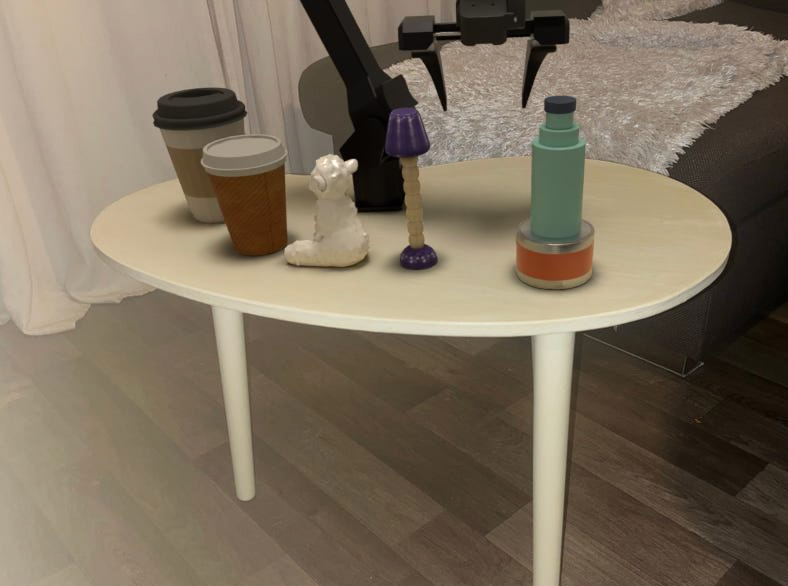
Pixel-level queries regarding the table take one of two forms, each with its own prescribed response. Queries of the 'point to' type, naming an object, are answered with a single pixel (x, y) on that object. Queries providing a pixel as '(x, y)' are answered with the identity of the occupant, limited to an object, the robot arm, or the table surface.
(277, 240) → the disposable coffee cup
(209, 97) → the coffee cup
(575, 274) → the can
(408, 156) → the toy lamp
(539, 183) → the bottle
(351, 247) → the white creature statuette
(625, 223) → the table surface
